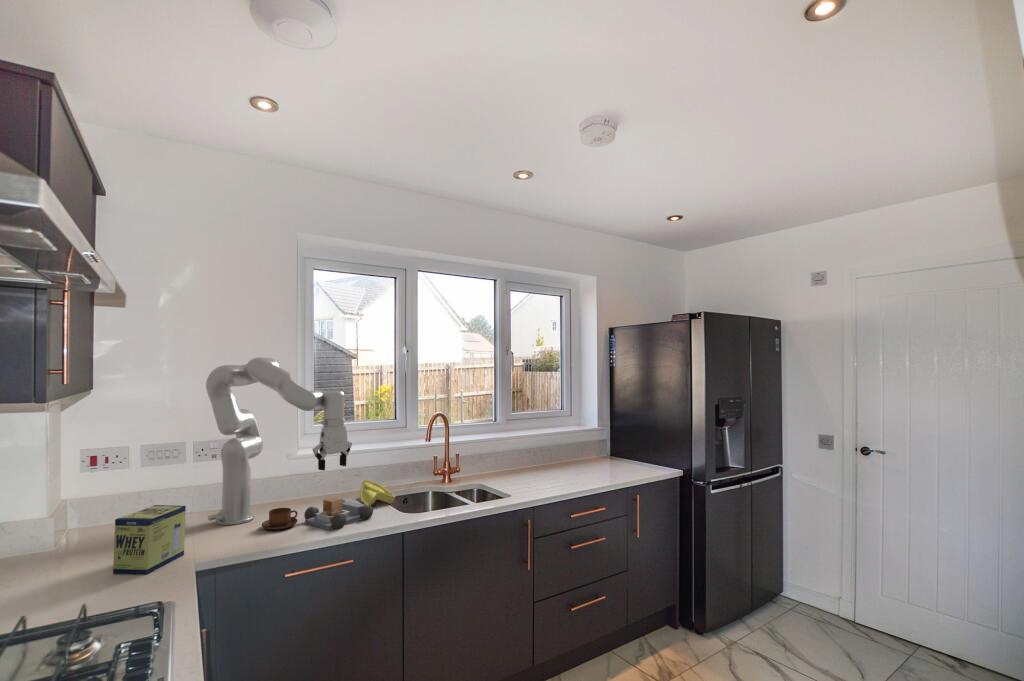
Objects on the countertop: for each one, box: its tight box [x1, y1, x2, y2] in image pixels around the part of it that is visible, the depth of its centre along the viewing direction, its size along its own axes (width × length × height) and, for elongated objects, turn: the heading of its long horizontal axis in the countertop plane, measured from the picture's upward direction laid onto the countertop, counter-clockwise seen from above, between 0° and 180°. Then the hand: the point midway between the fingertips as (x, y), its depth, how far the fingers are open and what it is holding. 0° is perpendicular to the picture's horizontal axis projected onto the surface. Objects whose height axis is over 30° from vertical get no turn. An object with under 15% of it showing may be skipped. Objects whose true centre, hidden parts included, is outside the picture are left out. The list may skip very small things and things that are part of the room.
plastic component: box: [359, 479, 396, 506], centre depth 222 cm, size 20×8×10 cm
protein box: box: [112, 504, 187, 576], centre depth 150 cm, size 10×16×16 cm
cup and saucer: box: [261, 507, 299, 531], centre depth 185 cm, size 12×12×6 cm
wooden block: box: [322, 496, 344, 516], centre depth 191 cm, size 5×5×7 cm
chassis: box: [303, 499, 374, 531], centre depth 193 cm, size 20×18×5 cm
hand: (332, 467), depth 192 cm, fingers open, 9 cm apart
